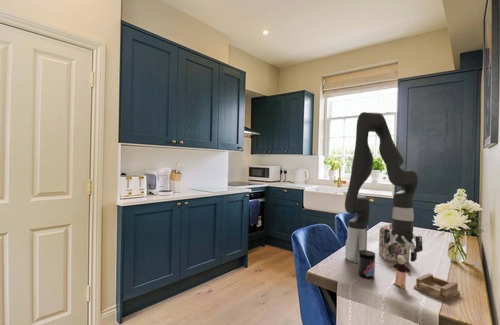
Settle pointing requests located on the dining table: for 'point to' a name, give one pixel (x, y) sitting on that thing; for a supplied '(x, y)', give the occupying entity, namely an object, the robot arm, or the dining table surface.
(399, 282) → the grandmother figurine
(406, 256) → the decorative jar
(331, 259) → the dining table surface
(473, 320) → the dining table surface
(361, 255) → the supplement container
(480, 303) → the dining table surface
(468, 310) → the dining table surface
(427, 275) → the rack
